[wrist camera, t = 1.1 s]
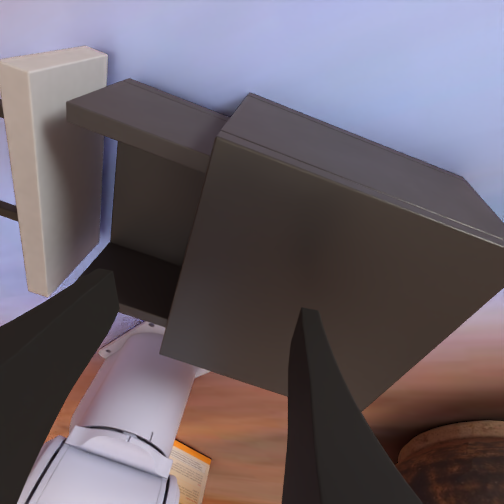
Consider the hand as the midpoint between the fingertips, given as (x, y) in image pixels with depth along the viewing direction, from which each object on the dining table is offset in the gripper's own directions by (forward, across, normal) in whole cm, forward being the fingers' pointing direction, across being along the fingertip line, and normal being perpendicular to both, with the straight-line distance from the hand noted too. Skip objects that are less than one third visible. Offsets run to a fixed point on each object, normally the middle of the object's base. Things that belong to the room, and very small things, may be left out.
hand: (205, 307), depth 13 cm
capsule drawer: (+9, +7, 0) cm, 11 cm away
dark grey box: (+10, -4, +2) cm, 11 cm away
